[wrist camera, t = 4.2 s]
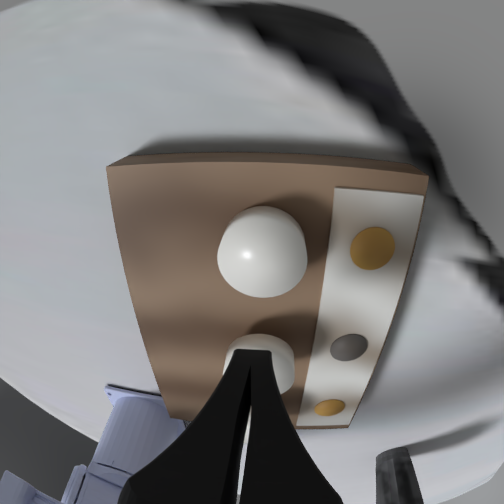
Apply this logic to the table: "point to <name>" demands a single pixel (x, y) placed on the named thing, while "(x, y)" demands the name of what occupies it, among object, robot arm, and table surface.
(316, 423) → the button board
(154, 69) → the table surface
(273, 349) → the button middle
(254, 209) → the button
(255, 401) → the robot arm
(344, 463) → the table surface
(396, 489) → the beverage cup
